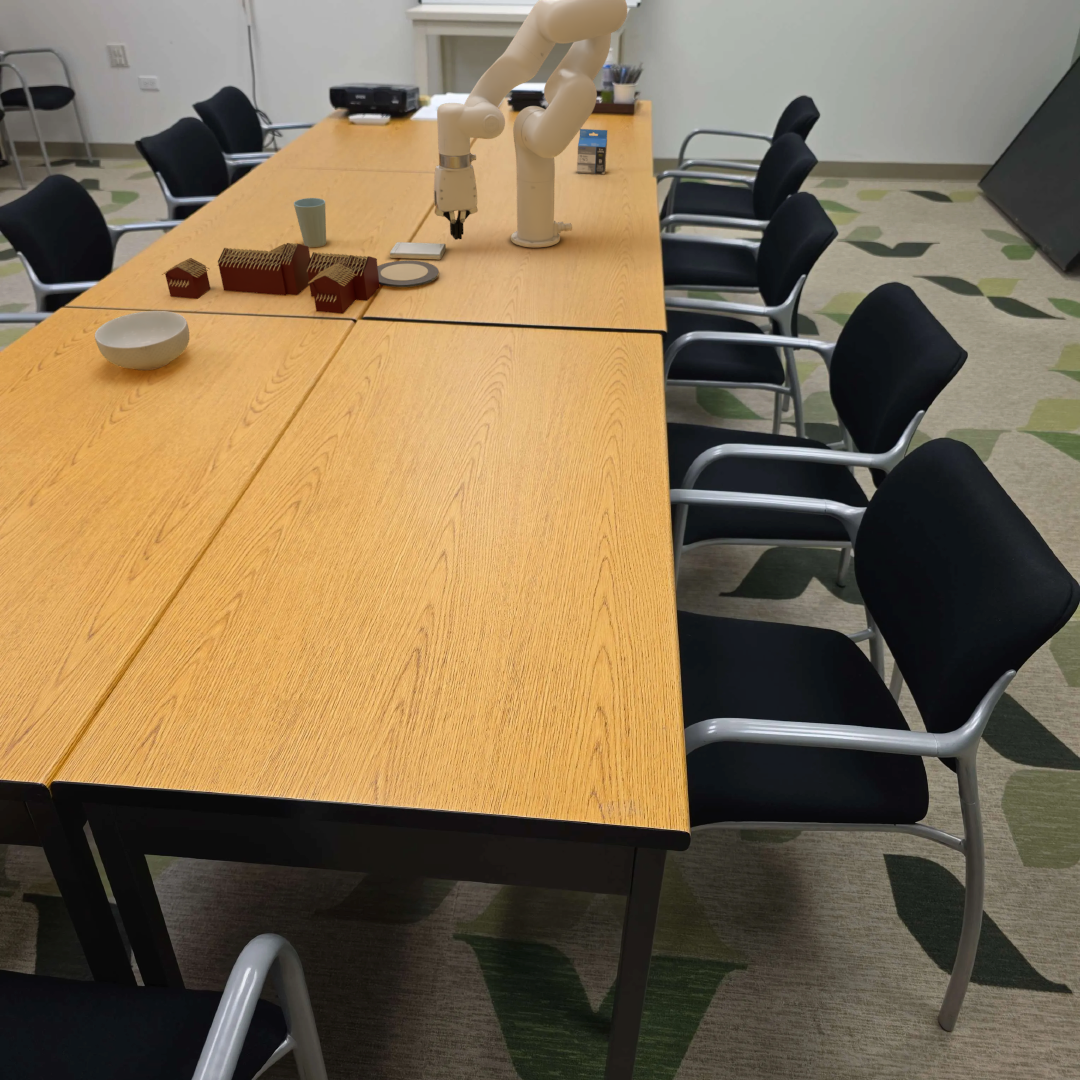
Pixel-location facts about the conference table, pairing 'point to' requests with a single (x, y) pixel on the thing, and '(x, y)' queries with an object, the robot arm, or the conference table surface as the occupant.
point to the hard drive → (418, 250)
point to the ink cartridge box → (592, 152)
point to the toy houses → (283, 275)
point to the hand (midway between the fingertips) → (457, 237)
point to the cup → (312, 221)
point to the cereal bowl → (143, 339)
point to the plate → (406, 273)
